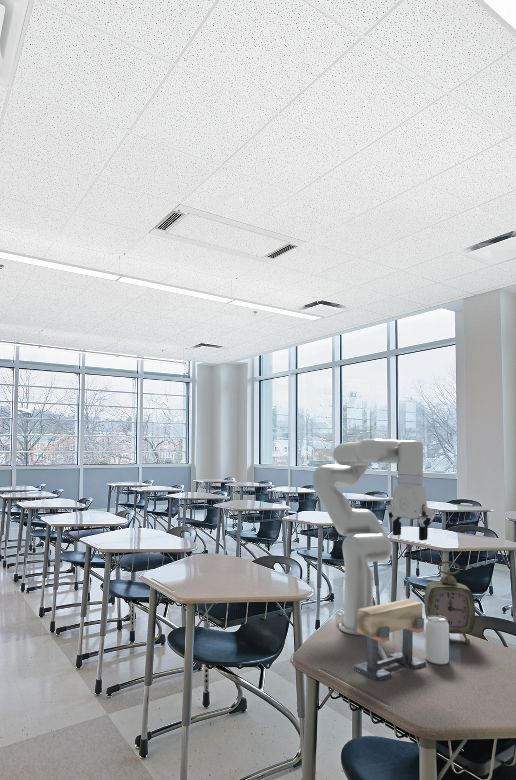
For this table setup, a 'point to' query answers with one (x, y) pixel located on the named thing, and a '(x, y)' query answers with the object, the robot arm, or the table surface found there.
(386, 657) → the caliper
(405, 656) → the grey support stand
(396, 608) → the rail
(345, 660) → the table surface
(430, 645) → the can
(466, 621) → the tabletop clock
